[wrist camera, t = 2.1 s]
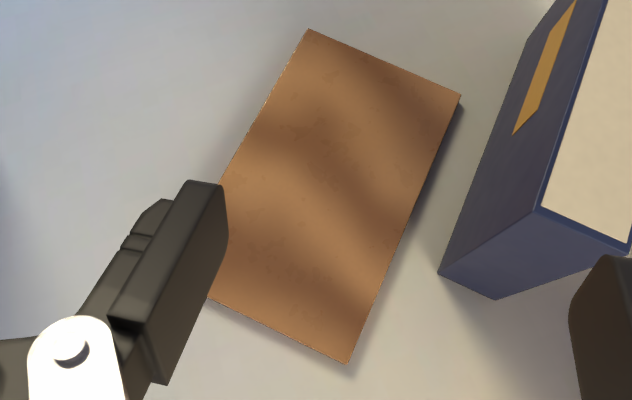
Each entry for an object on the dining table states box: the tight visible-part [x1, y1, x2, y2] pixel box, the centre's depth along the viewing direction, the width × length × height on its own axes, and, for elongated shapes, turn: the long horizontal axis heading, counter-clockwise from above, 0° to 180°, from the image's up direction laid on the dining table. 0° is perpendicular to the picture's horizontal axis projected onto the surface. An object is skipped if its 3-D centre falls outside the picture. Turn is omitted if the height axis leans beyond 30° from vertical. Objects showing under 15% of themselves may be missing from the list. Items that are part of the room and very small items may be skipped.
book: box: [437, 0, 632, 300], centre depth 29 cm, size 20×4×13 cm, turn 155°
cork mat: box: [207, 28, 461, 365], centre depth 33 cm, size 20×12×1 cm, turn 155°
